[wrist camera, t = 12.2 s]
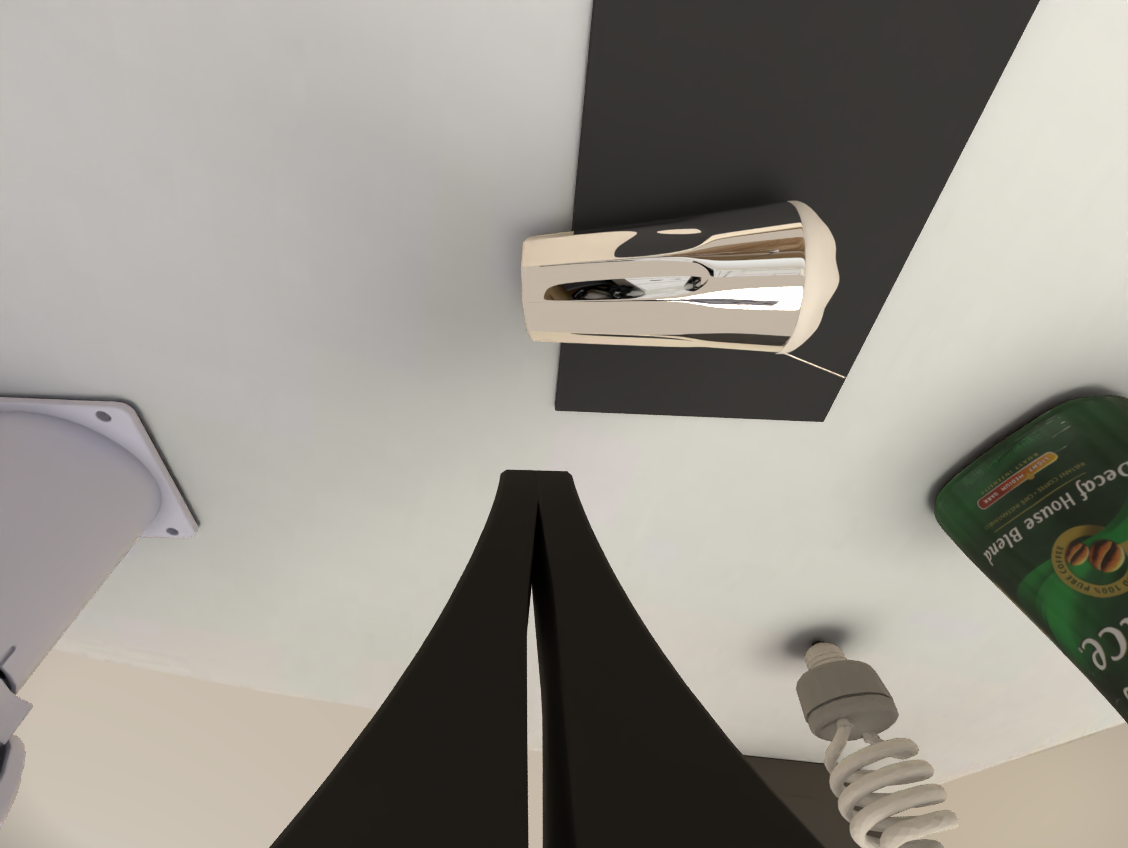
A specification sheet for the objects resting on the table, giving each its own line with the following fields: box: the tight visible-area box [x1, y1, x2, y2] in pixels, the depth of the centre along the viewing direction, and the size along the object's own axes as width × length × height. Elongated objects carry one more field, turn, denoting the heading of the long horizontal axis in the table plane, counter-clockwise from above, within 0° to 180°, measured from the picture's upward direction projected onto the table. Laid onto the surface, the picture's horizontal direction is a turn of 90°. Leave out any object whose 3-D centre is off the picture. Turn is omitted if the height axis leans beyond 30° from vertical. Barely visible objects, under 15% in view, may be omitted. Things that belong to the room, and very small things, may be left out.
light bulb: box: [796, 641, 959, 848], centre depth 30 cm, size 6×6×12 cm
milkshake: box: [521, 201, 846, 378], centre depth 16 cm, size 5×5×10 cm
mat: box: [555, 0, 1040, 422], centre depth 16 cm, size 12×19×1 cm, turn 175°
